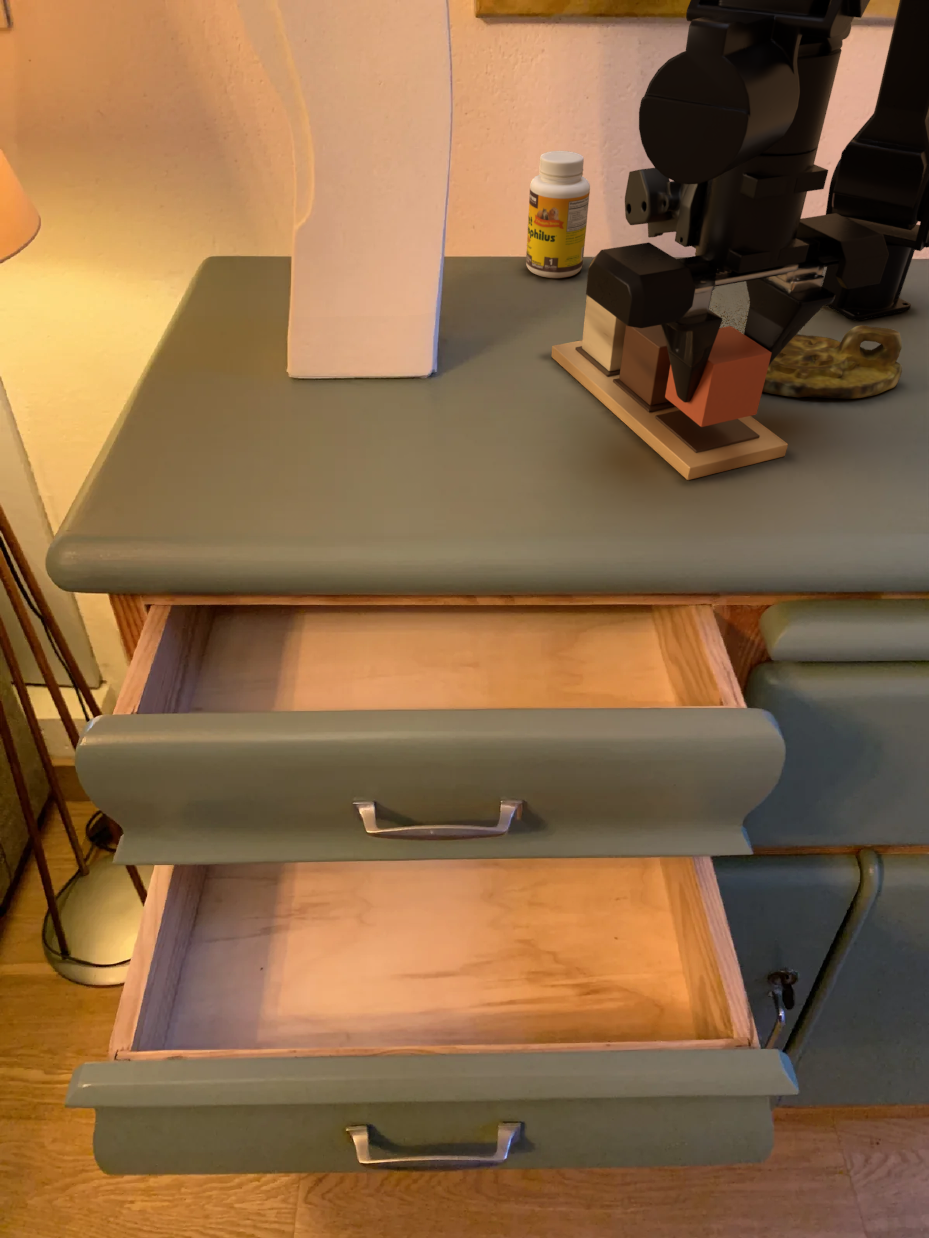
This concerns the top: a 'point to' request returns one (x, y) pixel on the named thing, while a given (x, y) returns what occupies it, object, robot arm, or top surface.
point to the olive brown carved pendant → (836, 365)
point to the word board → (660, 407)
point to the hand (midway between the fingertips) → (713, 393)
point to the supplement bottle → (557, 216)
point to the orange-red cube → (726, 380)
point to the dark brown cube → (646, 363)
